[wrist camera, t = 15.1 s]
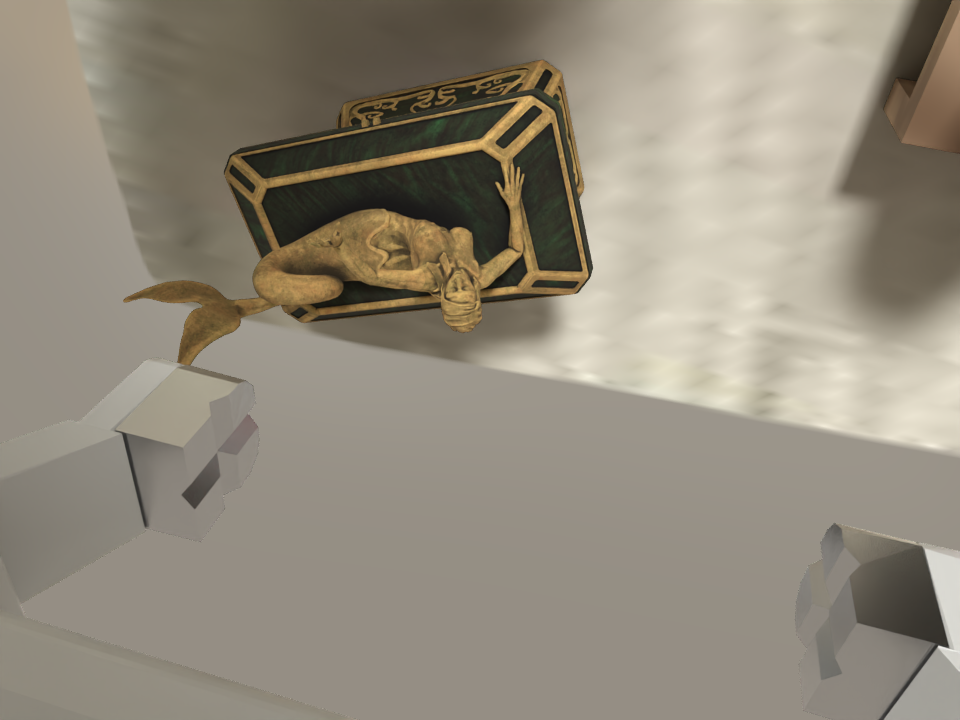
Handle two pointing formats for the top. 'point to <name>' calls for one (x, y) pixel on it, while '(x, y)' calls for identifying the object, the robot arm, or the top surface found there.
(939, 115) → the walnut shelf
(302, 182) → the decorative box
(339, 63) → the top surface
